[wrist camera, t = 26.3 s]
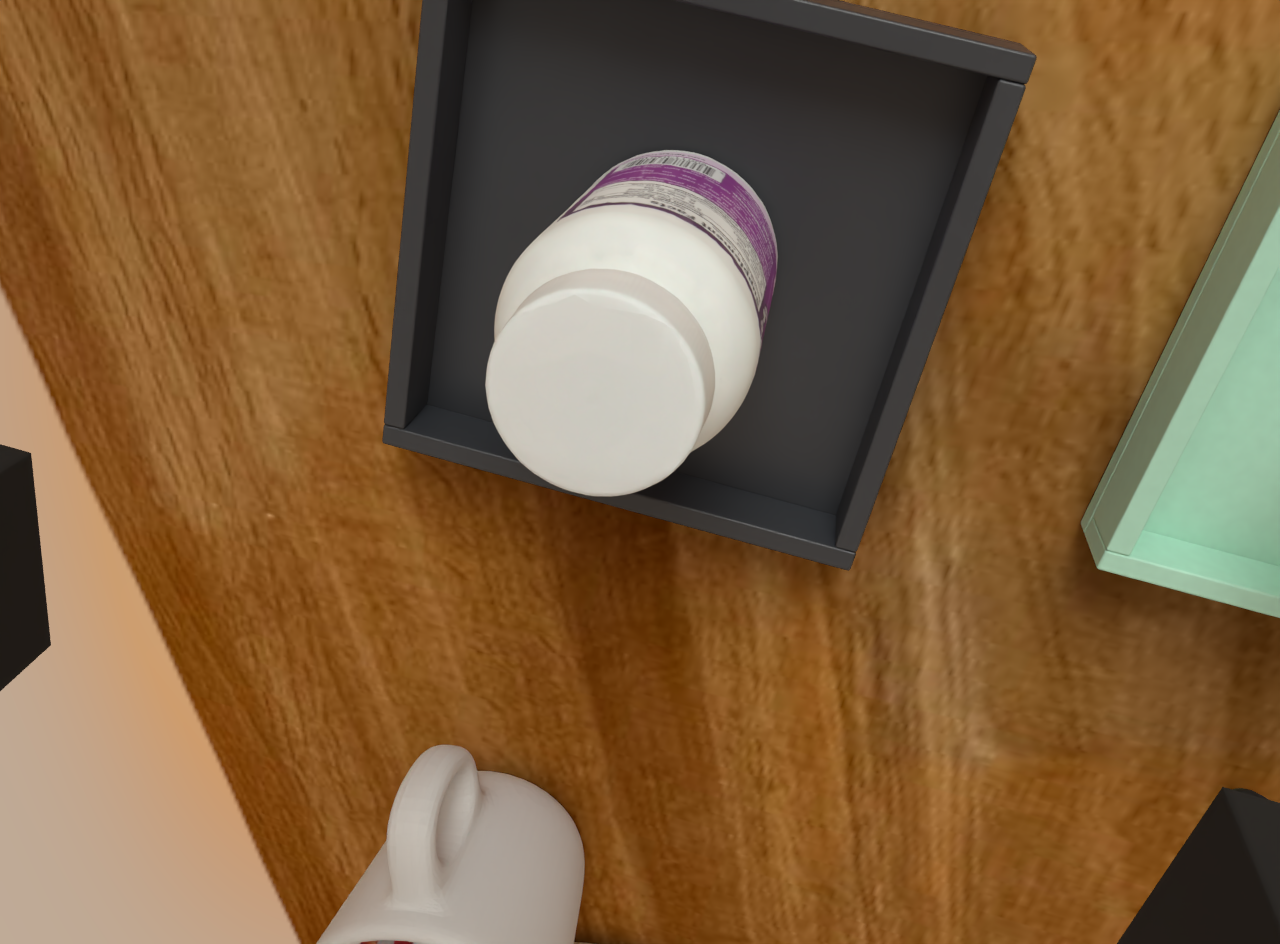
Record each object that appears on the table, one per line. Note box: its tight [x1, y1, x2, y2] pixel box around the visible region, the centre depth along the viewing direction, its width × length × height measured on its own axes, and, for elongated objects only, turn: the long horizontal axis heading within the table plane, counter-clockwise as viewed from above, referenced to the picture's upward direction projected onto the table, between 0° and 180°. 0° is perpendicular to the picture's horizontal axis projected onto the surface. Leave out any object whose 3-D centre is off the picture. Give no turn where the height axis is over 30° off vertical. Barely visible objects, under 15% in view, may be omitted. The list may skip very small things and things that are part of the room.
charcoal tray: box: [383, 0, 1036, 570], centre depth 26 cm, size 13×13×2 cm
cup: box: [316, 745, 585, 944], centre depth 34 cm, size 11×8×8 cm
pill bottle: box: [485, 150, 778, 496], centre depth 23 cm, size 5×5×10 cm
